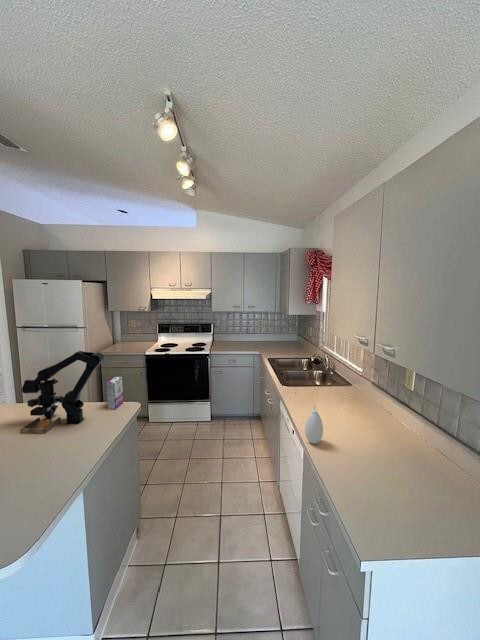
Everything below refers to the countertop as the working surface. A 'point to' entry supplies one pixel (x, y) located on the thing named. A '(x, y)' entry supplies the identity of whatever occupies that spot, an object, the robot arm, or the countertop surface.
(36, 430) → the wooden bracket
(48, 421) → the pastry
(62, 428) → the countertop surface
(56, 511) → the countertop surface
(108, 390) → the candy bar box
